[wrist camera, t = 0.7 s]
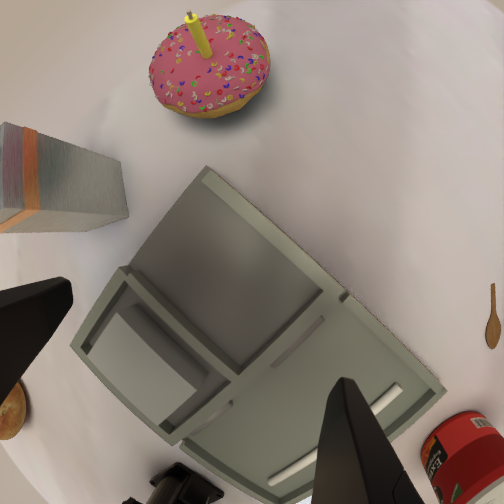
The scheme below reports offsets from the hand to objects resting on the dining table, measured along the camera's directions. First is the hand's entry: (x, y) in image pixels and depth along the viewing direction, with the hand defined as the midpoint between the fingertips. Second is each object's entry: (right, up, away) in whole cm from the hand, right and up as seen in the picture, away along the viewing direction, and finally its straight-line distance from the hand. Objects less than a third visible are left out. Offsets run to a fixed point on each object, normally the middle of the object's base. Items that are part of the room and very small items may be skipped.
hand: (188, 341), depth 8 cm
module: (-11, +7, +16) cm, 21 cm away
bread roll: (-34, -19, +21) cm, 44 cm away
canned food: (+22, -16, +12) cm, 30 cm away
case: (+2, -7, +14) cm, 16 cm away
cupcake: (-1, +16, +14) cm, 21 cm away
